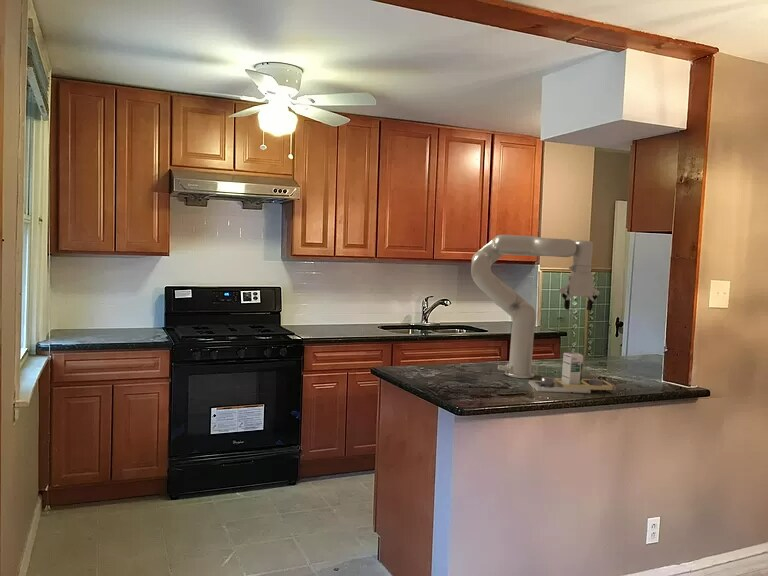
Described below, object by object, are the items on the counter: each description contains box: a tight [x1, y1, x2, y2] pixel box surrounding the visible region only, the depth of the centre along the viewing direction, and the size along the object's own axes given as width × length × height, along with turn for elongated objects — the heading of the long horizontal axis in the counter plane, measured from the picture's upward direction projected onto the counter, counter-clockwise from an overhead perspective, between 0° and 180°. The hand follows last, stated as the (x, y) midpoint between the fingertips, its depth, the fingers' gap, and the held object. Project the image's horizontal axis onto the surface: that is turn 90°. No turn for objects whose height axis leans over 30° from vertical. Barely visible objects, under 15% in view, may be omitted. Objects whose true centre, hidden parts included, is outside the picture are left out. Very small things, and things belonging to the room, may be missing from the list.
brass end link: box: [553, 377, 617, 395], centre depth 249 cm, size 21×11×4 cm, turn 94°
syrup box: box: [561, 352, 584, 384], centre depth 248 cm, size 6×6×14 cm
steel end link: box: [528, 376, 592, 394], centre depth 248 cm, size 21×11×4 cm, turn 94°
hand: (578, 309), depth 263 cm, fingers open, 9 cm apart
